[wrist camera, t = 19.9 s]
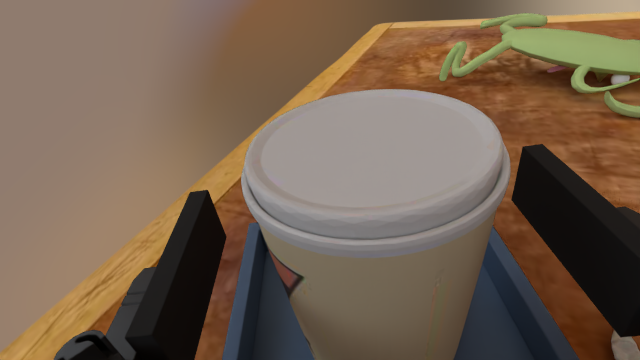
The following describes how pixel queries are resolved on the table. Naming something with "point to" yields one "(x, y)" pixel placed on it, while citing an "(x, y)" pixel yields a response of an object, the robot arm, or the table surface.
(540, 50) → the figurine
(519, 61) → the table surface
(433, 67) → the table surface
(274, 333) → the dish tray
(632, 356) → the tweezers
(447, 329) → the coffee cup
